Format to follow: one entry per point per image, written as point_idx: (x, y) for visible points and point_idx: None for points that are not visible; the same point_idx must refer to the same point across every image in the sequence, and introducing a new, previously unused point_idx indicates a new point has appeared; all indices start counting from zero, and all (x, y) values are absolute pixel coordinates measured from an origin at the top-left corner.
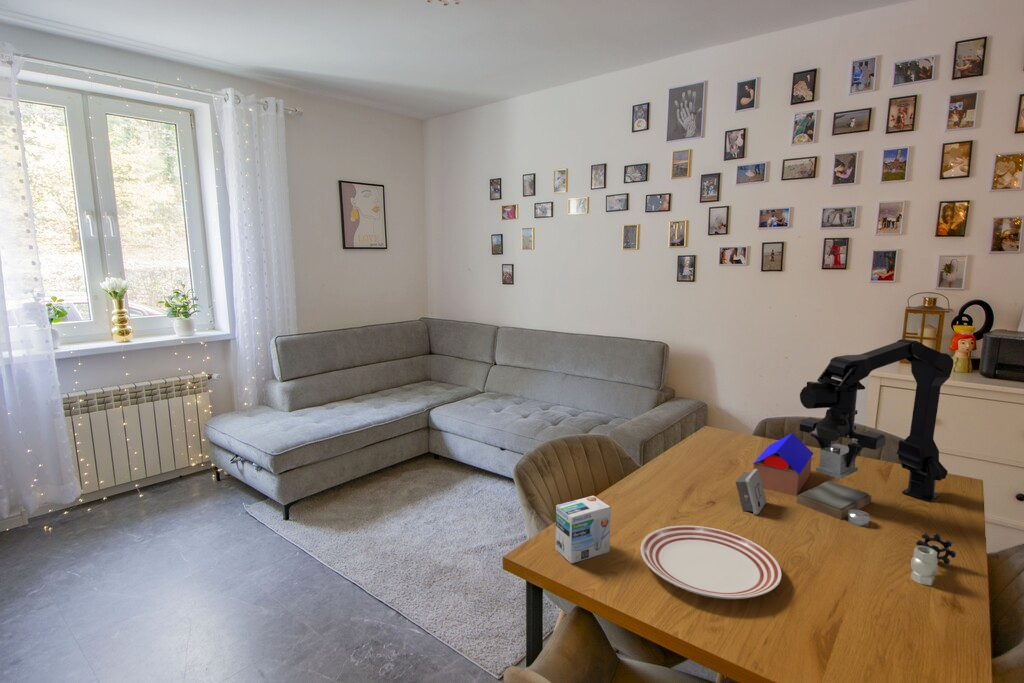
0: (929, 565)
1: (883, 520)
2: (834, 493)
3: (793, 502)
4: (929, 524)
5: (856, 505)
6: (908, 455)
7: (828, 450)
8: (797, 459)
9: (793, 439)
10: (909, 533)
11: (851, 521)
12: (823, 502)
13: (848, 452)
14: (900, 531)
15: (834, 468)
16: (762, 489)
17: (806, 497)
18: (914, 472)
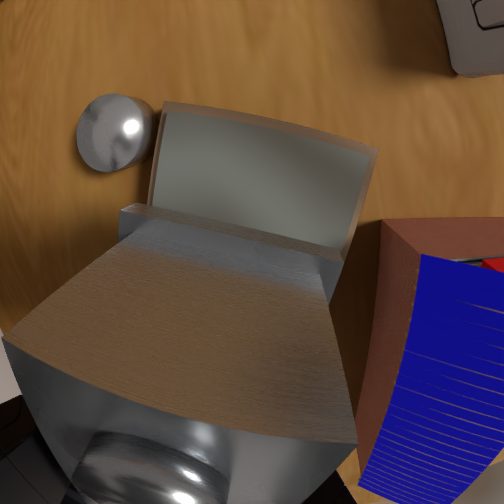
0: None
1: (79, 216)
2: None
3: (378, 142)
4: (22, 276)
5: None
6: (72, 496)
7: (228, 462)
8: (437, 398)
9: (437, 497)
10: (24, 178)
11: (136, 98)
12: (249, 124)
13: (23, 437)
14: (36, 171)
15: (166, 257)
16: (494, 48)
17: (336, 144)
18: None
